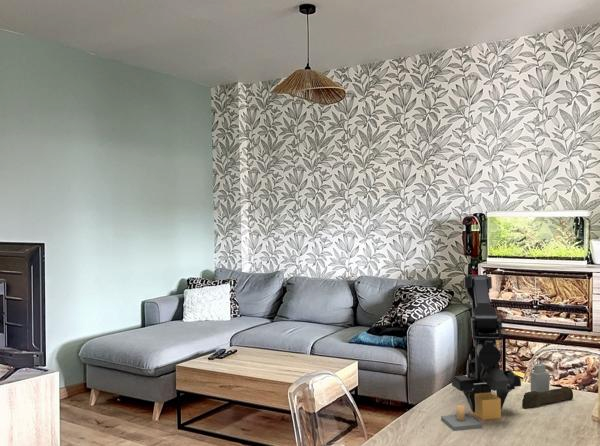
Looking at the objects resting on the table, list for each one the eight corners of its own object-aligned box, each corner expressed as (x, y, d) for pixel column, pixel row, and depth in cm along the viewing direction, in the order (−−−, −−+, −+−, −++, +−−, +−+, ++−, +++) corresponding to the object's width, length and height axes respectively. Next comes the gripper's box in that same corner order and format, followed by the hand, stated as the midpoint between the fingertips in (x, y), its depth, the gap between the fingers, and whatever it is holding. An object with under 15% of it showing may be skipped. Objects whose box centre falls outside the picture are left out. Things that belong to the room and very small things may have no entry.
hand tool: (563, 397, 174) (563, 382, 174) (574, 401, 171) (573, 386, 171) (515, 406, 167) (515, 391, 167) (525, 410, 164) (525, 395, 164)
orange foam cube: (472, 412, 162) (472, 393, 162) (490, 411, 163) (490, 392, 163) (482, 419, 157) (482, 400, 157) (500, 417, 158) (500, 398, 158)
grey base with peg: (441, 419, 158) (440, 402, 157) (467, 417, 159) (467, 399, 159) (453, 430, 150) (453, 412, 150) (481, 427, 151) (481, 409, 151)
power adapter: (529, 394, 177) (529, 356, 177) (543, 392, 179) (542, 354, 179) (537, 397, 174) (536, 359, 174) (550, 395, 176) (550, 357, 176)
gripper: (469, 366, 150) (470, 424, 151) (532, 361, 154) (532, 418, 154) (450, 356, 161) (451, 410, 161) (509, 351, 165) (510, 404, 165)
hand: (486, 410), depth 160 cm, fingers open, 8 cm apart
